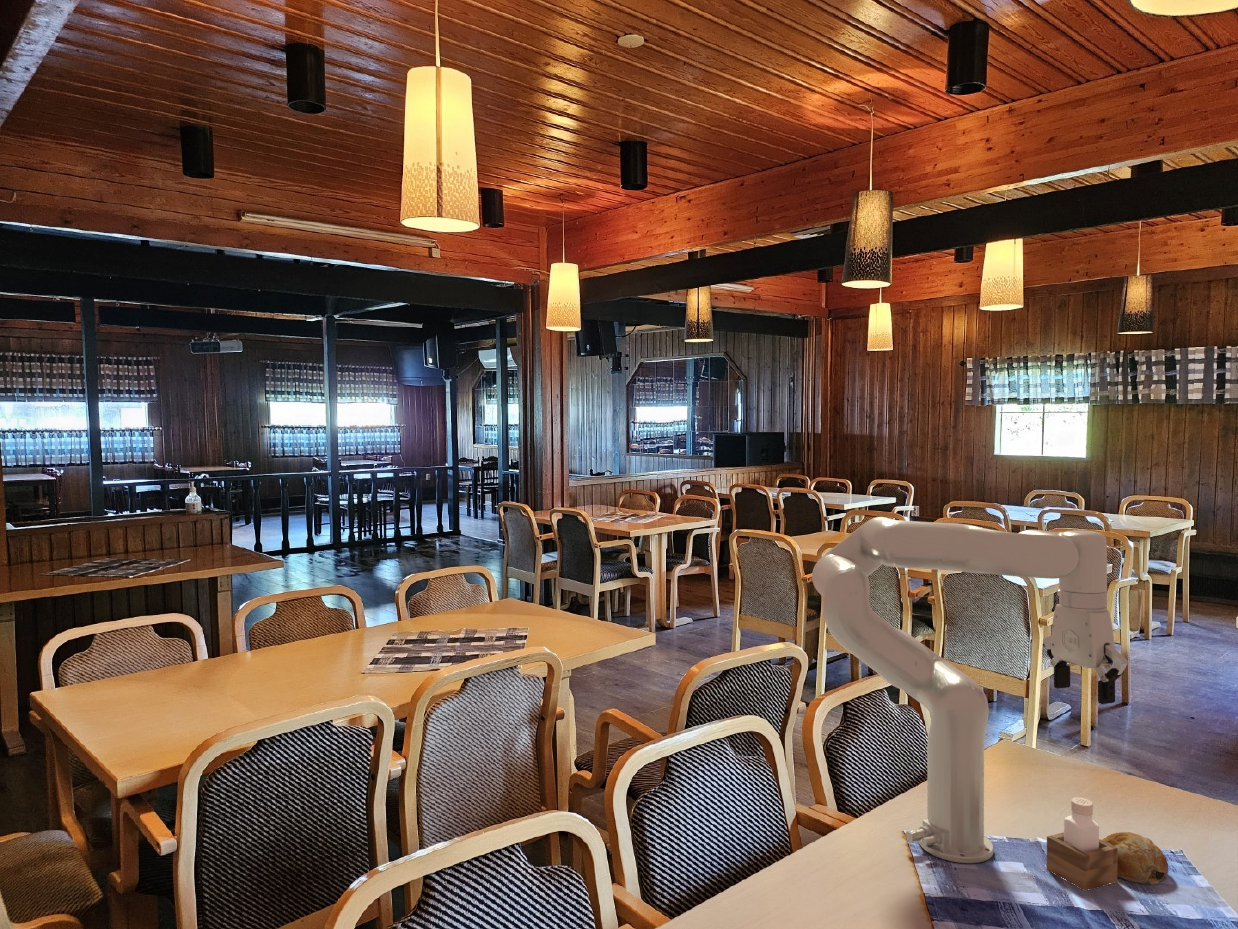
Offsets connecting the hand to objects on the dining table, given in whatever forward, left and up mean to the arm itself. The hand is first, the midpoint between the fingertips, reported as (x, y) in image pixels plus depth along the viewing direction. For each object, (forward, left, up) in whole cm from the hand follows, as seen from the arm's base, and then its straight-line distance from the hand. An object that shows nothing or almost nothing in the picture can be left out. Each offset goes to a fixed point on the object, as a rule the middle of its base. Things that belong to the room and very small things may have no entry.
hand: (1083, 695), depth 149 cm
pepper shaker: (-9, -7, -25) cm, 27 cm away
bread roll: (+1, -8, -28) cm, 29 cm away
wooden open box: (-9, -7, -28) cm, 30 cm away
